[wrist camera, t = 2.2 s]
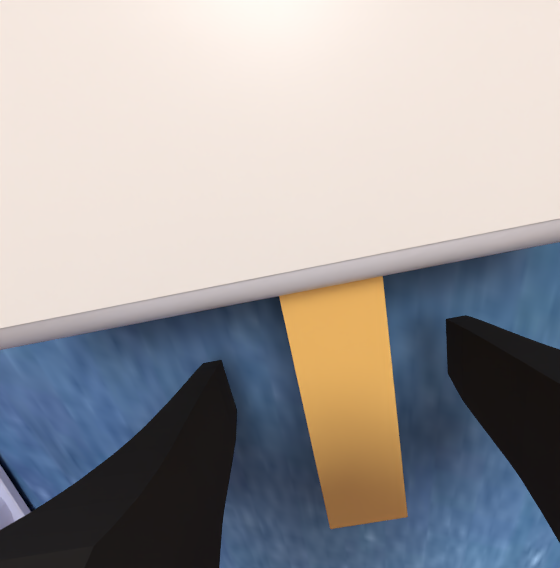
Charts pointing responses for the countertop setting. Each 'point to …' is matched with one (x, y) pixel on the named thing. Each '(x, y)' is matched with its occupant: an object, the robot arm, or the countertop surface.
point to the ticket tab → (349, 398)
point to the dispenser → (262, 149)
